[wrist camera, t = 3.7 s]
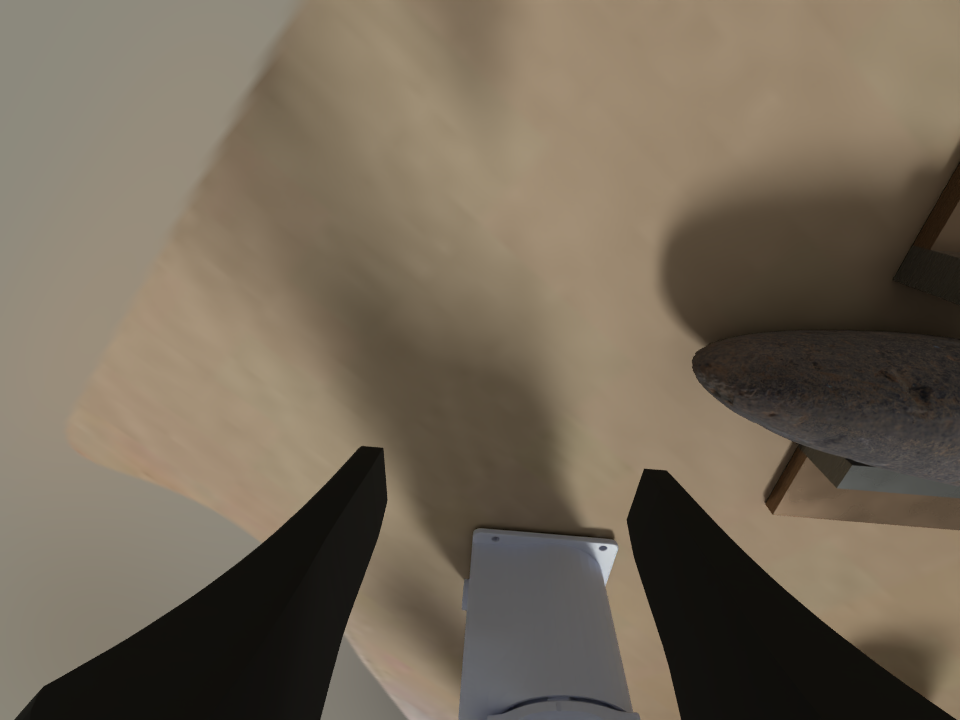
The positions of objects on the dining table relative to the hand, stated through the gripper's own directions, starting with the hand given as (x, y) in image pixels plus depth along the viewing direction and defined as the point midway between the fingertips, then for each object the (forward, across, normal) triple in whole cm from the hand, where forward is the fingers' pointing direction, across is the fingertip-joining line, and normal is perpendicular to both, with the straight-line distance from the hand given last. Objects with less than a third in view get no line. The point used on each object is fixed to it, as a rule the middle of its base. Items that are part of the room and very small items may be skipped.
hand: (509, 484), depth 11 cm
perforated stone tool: (+10, -16, 0) cm, 19 cm away
